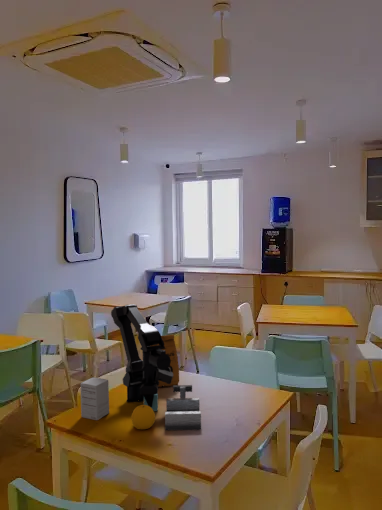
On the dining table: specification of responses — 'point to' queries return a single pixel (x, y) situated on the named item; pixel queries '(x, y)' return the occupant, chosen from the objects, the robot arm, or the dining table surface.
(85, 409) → the supplement box
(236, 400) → the dining table surface
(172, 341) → the coffee package
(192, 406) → the vise jaw
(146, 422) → the orange fruit
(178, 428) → the vise
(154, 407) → the teal block
